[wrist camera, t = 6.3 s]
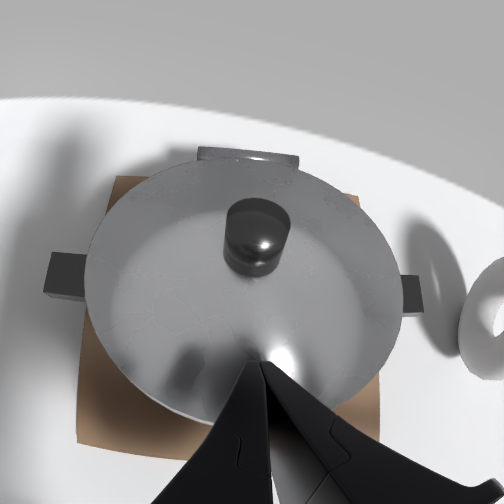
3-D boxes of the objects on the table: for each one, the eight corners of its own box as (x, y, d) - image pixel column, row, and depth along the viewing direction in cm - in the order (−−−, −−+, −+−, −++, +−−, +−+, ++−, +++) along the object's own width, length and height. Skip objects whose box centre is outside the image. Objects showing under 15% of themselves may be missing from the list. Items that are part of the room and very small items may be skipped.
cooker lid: (421, 410, 10) (467, 389, 8) (59, 407, 9) (20, 384, 6) (351, 174, 20) (366, 138, 18) (136, 154, 18) (133, 113, 16)
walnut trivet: (375, 447, 18) (379, 448, 17) (80, 441, 15) (77, 442, 15) (355, 199, 26) (358, 196, 25) (118, 180, 24) (116, 176, 23)
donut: (454, 275, 24) (531, 224, 15) (477, 288, 24) (552, 243, 15) (440, 383, 20) (538, 363, 11) (466, 390, 20) (558, 372, 11)
